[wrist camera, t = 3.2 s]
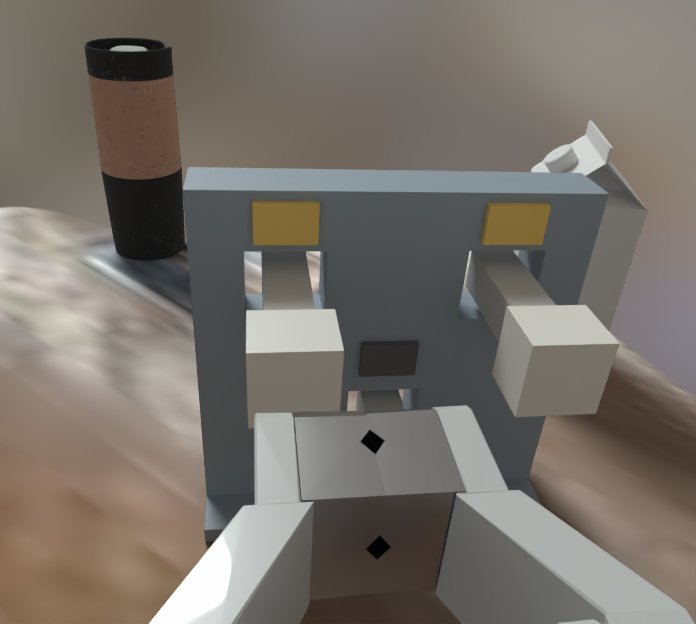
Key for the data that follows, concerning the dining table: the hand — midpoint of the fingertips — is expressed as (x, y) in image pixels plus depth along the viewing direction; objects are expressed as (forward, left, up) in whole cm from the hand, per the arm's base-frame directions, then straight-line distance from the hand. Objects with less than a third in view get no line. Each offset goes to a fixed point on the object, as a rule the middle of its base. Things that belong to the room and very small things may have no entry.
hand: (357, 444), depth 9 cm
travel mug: (-13, +57, -24) cm, 63 cm away
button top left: (0, +18, -11) cm, 21 cm away
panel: (+5, +22, -24) cm, 33 cm away
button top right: (+11, +18, -11) cm, 23 cm away
